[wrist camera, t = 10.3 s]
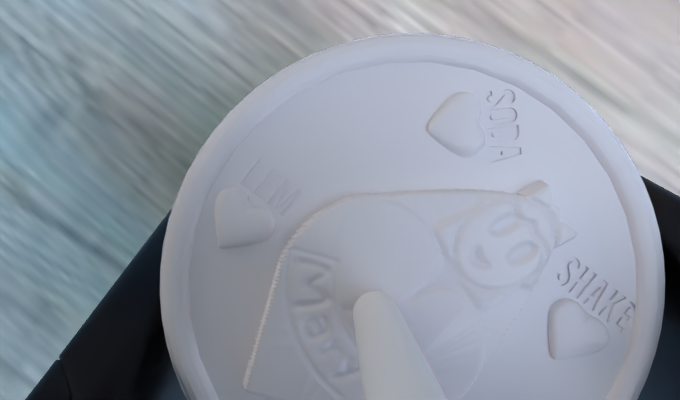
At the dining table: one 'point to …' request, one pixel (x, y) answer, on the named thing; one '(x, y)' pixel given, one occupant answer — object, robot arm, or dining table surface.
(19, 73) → the dining table surface
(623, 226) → the smoothie
